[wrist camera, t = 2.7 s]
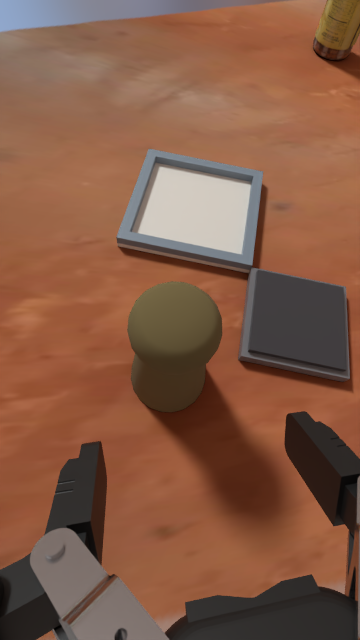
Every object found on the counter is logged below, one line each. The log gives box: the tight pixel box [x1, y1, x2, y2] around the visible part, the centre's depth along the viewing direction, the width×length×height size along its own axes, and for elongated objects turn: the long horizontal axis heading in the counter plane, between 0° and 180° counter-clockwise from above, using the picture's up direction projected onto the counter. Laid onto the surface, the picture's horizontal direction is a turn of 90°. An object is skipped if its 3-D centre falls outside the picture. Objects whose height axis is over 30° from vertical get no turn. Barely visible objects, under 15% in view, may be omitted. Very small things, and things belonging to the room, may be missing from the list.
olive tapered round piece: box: [127, 282, 222, 412], centre depth 21 cm, size 6×6×11 cm
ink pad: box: [238, 267, 350, 382], centre depth 28 cm, size 9×9×2 cm
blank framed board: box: [116, 149, 263, 273], centre depth 33 cm, size 13×13×1 cm
